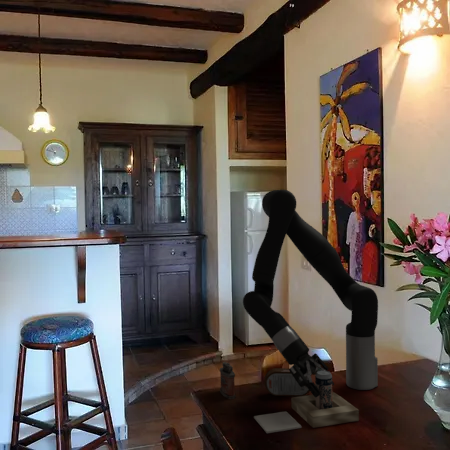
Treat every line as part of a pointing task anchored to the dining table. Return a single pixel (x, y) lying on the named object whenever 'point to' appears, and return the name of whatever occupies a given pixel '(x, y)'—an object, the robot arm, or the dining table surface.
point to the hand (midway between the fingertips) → (325, 391)
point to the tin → (283, 383)
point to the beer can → (324, 390)
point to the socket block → (325, 411)
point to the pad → (277, 422)
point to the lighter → (227, 381)
